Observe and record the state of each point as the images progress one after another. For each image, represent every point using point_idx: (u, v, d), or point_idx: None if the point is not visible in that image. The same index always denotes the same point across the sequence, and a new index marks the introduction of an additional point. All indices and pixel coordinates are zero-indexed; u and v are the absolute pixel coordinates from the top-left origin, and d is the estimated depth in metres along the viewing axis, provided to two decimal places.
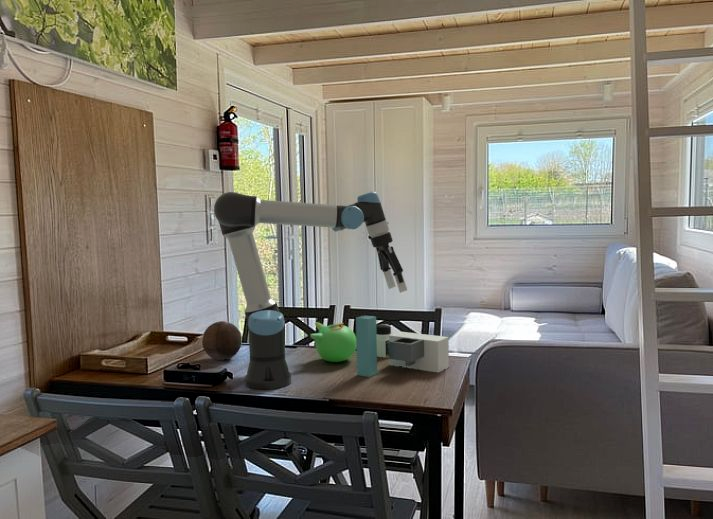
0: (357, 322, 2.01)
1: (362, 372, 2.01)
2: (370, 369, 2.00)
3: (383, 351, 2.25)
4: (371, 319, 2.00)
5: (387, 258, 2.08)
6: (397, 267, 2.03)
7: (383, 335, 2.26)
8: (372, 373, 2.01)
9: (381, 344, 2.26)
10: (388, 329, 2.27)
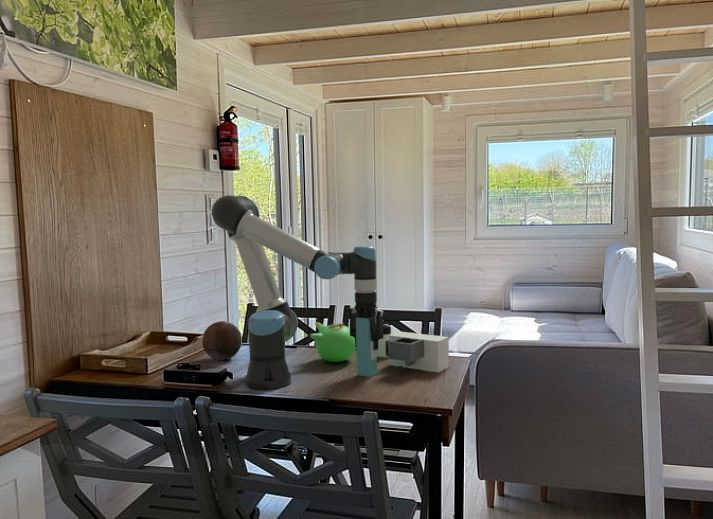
0: (357, 322, 2.01)
1: (362, 372, 2.01)
2: (370, 369, 2.00)
3: (383, 351, 2.25)
4: None
5: (370, 320, 1.99)
6: (381, 334, 1.98)
7: (383, 335, 2.26)
8: (372, 373, 2.01)
9: (381, 344, 2.26)
10: (388, 329, 2.27)
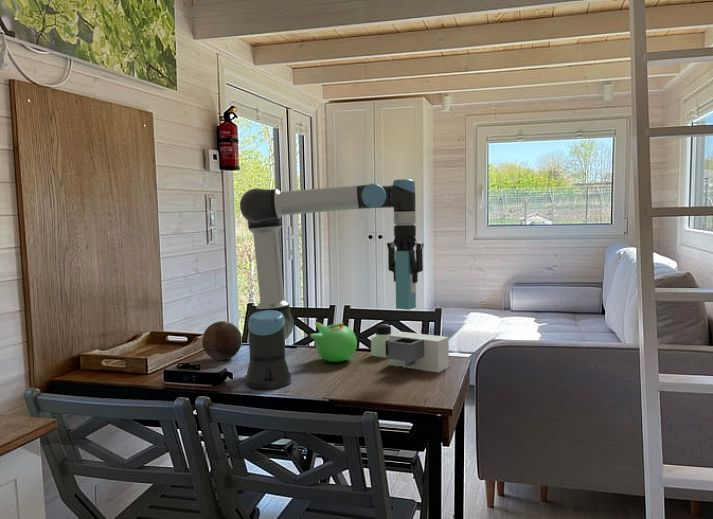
0: (396, 255, 2.01)
1: (401, 305, 2.02)
2: (409, 302, 2.01)
3: (383, 351, 2.25)
4: None
5: (410, 252, 2.00)
6: (420, 266, 1.99)
7: (383, 335, 2.26)
8: (411, 306, 2.02)
9: (381, 344, 2.26)
10: (388, 329, 2.27)
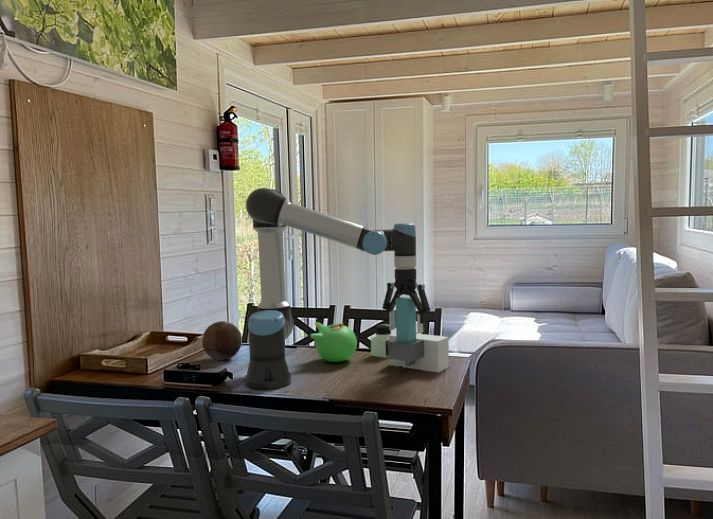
0: (397, 303, 2.03)
1: None
2: None
3: (383, 351, 2.25)
4: (411, 300, 2.02)
5: (413, 295, 2.00)
6: (427, 306, 1.98)
7: (383, 335, 2.26)
8: None
9: (381, 344, 2.26)
10: (388, 329, 2.27)
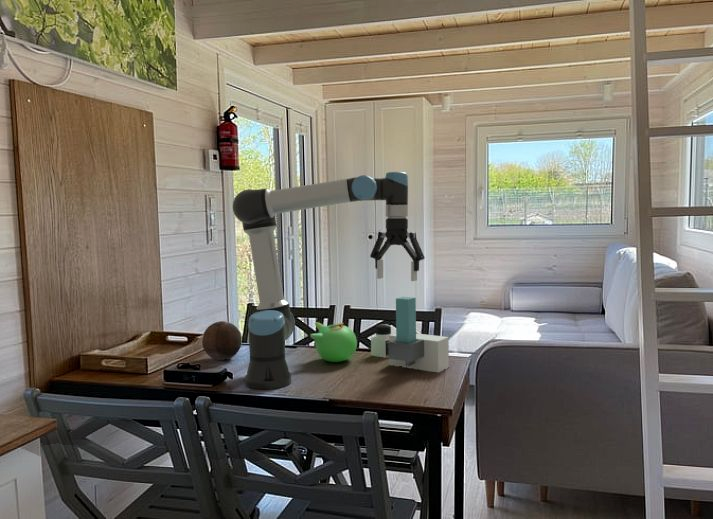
0: (397, 303, 2.03)
1: None
2: None
3: (383, 351, 2.25)
4: (411, 300, 2.02)
5: (405, 243, 1.98)
6: (420, 253, 1.95)
7: (383, 335, 2.26)
8: None
9: (381, 344, 2.26)
10: (388, 329, 2.27)
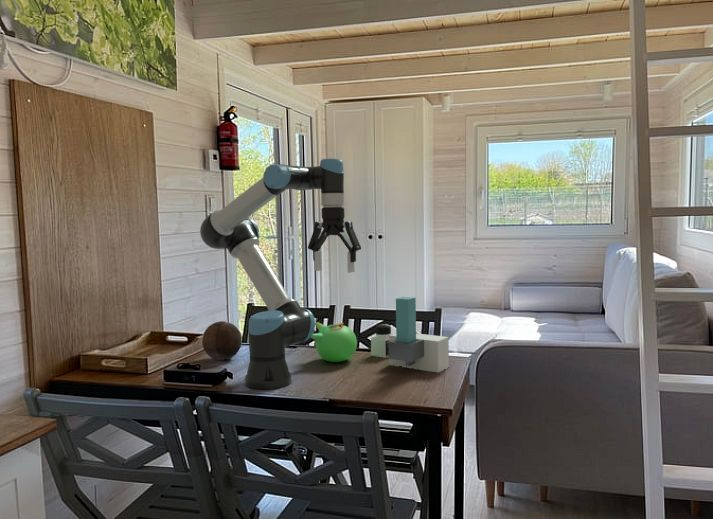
0: (397, 303, 2.03)
1: None
2: None
3: (383, 351, 2.25)
4: (411, 300, 2.02)
5: (341, 233, 1.89)
6: (357, 243, 1.86)
7: (383, 335, 2.26)
8: None
9: (381, 344, 2.26)
10: (388, 329, 2.27)
